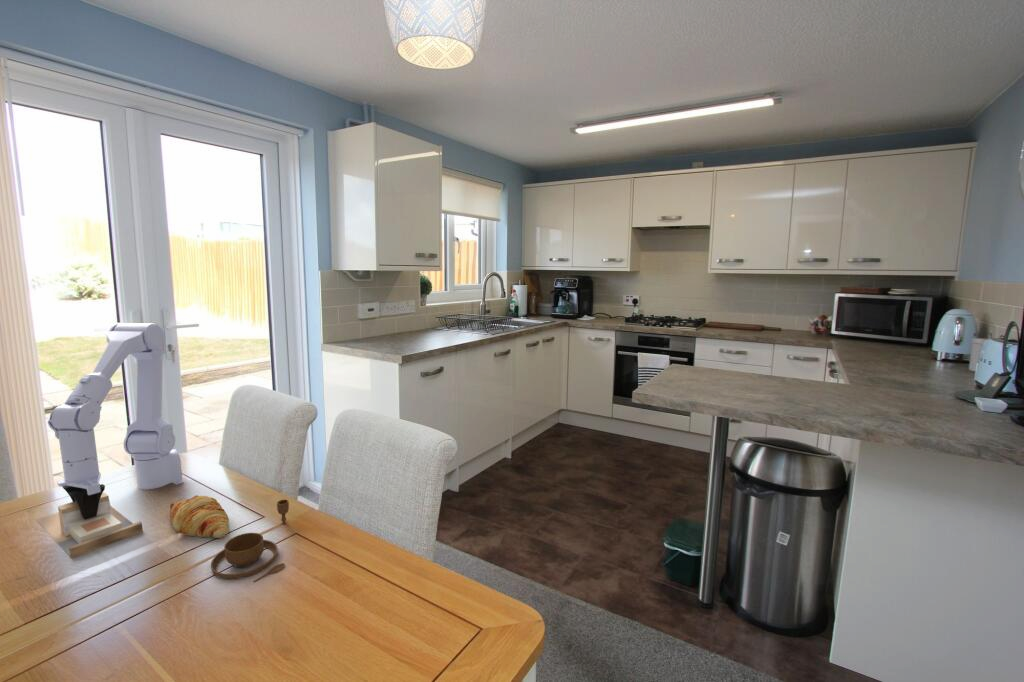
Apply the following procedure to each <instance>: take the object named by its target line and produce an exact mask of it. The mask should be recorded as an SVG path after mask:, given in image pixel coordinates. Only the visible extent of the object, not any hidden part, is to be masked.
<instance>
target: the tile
mask: <svg viewBox="0 0 1024 682" xmlns="http://www.w3.org/2000/svg"><path fill="white" fill-rule="evenodd" d="M69 528H70V535H71V536H72V537H73V538H74V539H75V540H76V541H77V542H78V543H82V542H85V541H88V540H90V539H93V538H96V537H99V536H102V535H104V534H107V533H110V532H113V531H115V530H118V529H121V528H122V524H121V522H120V521H119V520H117V519H116V518H115V517H114V516H113V515H111V514H110V513H109V514H106V515H103V516H100V517H97V518H93V519H90V520H87V521H84V522H81V523H78V524H75V525H72V526H69Z"/></svg>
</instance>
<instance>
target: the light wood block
mask: <svg viewBox="0 0 1024 682" xmlns="http://www.w3.org/2000/svg"><path fill="white" fill-rule="evenodd" d="M110 506H111V503H110V497H109V495H108V494H107V493H106V492H104V491H103V493H102V495H101V497H100V500H99V505H98V511H97V516H95V517H92V518H89V519H86V520H84V518H83V517H82V515H81V512H80V509H79V506H78V504H77V502H76V501H74V502H73V501H72V502H68V503H65V504H61V505H58V506H57V509H58V512H59V518H60V525H61V532H62V533H63V534H64V535H65V536H68V535H70V528H69V526H72V525H75V524H78V523H81V522H84V521H87V520H90V519H93V518H97V517H100V516H103V515H106V514H109V513H110V514H111V509H110Z"/></svg>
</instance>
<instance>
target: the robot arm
mask: <svg viewBox="0 0 1024 682" xmlns="http://www.w3.org/2000/svg"><path fill="white" fill-rule="evenodd" d="M165 339H166V331H165V330H164V329H163V328H162V327H161V326H160V325H159V324H158V323H154V322H151V323H132V322H131V323H129V322H127V323H126V322H116V323H114V324H112V326H110V328H109V331H108V332H107V334H106V341H107V346H106V347H105V349H104V351H103V353H102V355H101V356H100V358H99V361H98V362H97V364H96V366H95V367H94V370H93V371H92V373H88V374H87V373H86V374H85V375H83V376H82V377H81V378H80V379H79V381H78V383H77V384H76V386H75V387H74V388H73V390H72V392H71V393H70V394H69V396H68V397H67V398H66V400H65V402H64V403H62V404H60V405H57V406H56V407H54V408H53V409H52V410H51V412H50V414H49V420H47V424H48V427H49V428H50V429H51V430H52V431H53V432H54V436H55V438H56V439H57V440H58V441H59V449H60V455H61V457H60V458H61V462H62V469H63V470H62V471H63V476H64V477H63V479H61V480H59V481H57V486H58V487H62V489H63V490H64V491H65V492H66V493H67V494H68V496H69V497H70V499H71V501H72V502H74V501H76V502H77V504H78V506H79V509H80V512H81V515H82V517H83V518H84V520H86V519H89V518H92V517H95V516H97V511H98V505H99V500H100V497H101V495H102V493H104V491H105V489H106V485H105V484H103V483H100V482H101V481H100V480H101V478H102V477H101V476H102V475H101V471H100V468H99V467H100V466H99V459H98V452H97V445H96V437H95V436H96V435H95V430H94V429H95V427H96V426H97V424H98V423H99V422H100V419H101V410H102V404H103V403H104V401H105V399H106V397H107V395H108V394H109V392H110V391H111V389H112V388H113V382H112V380H111V379H112V377H113V376H114V374H115V373H116V371H118V369H119V368H120V367H121V365H122V364H123V363H124V361H125V360H126V359H127V358H128V357H129V355H131V356H133V357H134V358H135V360H137V366H136V367H137V369H136V373H137V375H136V378H137V379H136V420H134V421H133V422H132V423H131V424H129V425H128V426H127V427H126V434H125V438H124V440H123V449H124V451H125V453H126V454H128V455H130V458H131V459H134V460H133V461H134V466H135V467H134V469H135V478H136V486H137V489H139V490H142V491H143V490H145V491H147V490H153V489H158V488H161V487H164V486H166V485H169V484H172V483H173V484H174V485H181V484H183V483H185V481H184V480H183V471H182V463H181V462H182V461H181V457H180V453H179V452H178V451H177V449H174V447H175V443H176V437H175V434H174V430H173V428H174V426H173V424H172V423H170V422H169V421H168V420H166V419H164V418H163V417H162V416H163V411H162V410H163V407H162V406H163V360H164V359H163V358H164V357H163V355H164V354H165V351H166V350H165V349H166V347H165V346H166V345H165V344H166V340H165Z"/></svg>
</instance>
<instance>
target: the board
mask: <svg viewBox="0 0 1024 682" xmlns="http://www.w3.org/2000/svg"><path fill="white" fill-rule="evenodd" d="M110 509H111V515H113V516H114V517H115V518H116V519H117V520H119V521H120V522H121V524H122V528H121V529H118V530H115V531H113V532H110V533H107V534H104V535H102V536H99V537H96V538H93V539H90V540H88V541H85V542H82V543H78V542H77V541H76V540H75V539H74V538H73V537H72V536H71V535H68V536H65V535H64V534H63V533H62V532H61V525H60V518H59V511H58V512H55V513H52V514H49V515H45V516H43V517H39V518H36V519H35V520H36V522H38V524H39V525H40V526H41V527H42V528H43V529H44V530H45V531H46V532H47V534H48V535H49V536H50V537H51V538H52V539H53V540H54V541H55V542H56V544H58V545H59V547H60V548H61V549H62V550H63V551H64V552H65V554H67V555H68V556H69V558H70V559H74V558H77V557H79V556H81V555H84V554H89V553H90V552H92V551H95V550H99V549H100V548H103V547H106V546H108V545H111V544H113V543H114V544H115V543H116V542H119V541H123V540H124V539H127V538H131V537H132V536H134V535H135V536H136V535H138V534H140V533H143V532H144V528H143V522H141V521H138V522H135V523H133V522H132V521H130V519H128V518H127V517H126V516H124V515H123V514H122V513H121V512H119V511H118V510H117V509H116V508H114V507H113V506H112V505H110Z"/></svg>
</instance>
